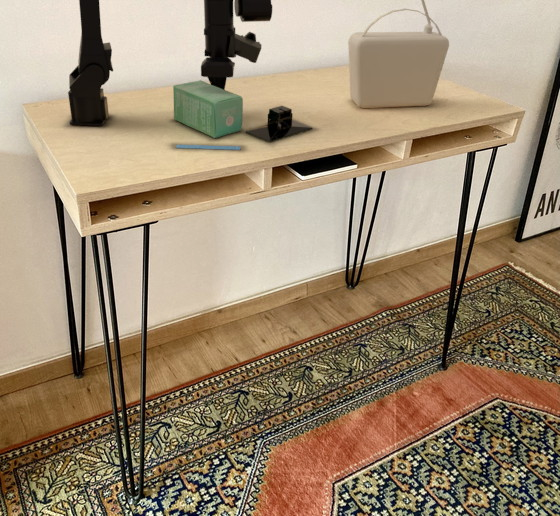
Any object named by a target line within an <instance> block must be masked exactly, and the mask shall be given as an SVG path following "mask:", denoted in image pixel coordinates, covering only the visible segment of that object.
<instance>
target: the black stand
mask: <svg viewBox="0 0 560 516" xmlns="http://www.w3.org/2000/svg"><path fill="white" fill-rule="evenodd" d="M292 111H293V109H292V108H289V107H287V106H284V105H279V106H275V107H271V108H268V114H267V124H265V125H262V126H258V127H255V128H251V129H248V130H245V134H248V135H250V136H252V137H254V138H257V139H259V140H262V141H264V142H266V143H269V144H271V143H273V142H276V141H279V140H283V139H286V138H290V137H292V136H296V135H299V134H302V133H306V132H308V131H312V130H313V127H312V126H310V125H307V124H305V123H302V122H299V121H297V120H294V119H293V114H294V113H292Z"/></svg>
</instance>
